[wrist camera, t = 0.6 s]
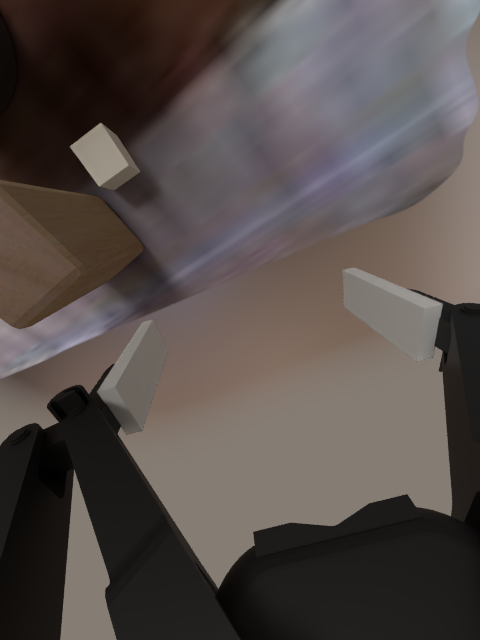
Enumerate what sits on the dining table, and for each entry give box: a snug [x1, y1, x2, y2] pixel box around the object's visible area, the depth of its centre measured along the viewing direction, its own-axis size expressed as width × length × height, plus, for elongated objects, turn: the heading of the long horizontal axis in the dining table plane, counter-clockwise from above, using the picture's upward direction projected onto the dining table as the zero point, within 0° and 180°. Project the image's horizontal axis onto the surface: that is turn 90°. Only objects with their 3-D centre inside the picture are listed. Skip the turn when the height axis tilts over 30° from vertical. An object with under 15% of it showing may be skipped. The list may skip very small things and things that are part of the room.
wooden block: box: [0, 180, 144, 329], centre depth 29 cm, size 10×10×20 cm
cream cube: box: [70, 123, 140, 190], centre depth 32 cm, size 5×5×5 cm
